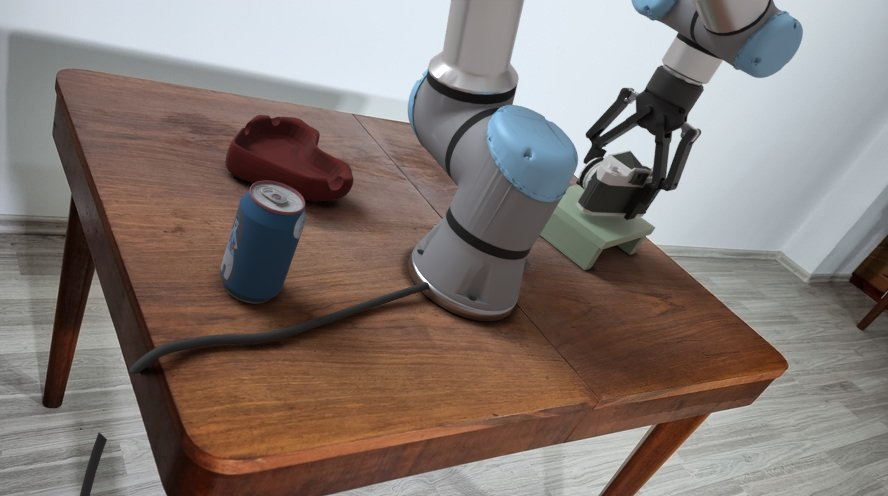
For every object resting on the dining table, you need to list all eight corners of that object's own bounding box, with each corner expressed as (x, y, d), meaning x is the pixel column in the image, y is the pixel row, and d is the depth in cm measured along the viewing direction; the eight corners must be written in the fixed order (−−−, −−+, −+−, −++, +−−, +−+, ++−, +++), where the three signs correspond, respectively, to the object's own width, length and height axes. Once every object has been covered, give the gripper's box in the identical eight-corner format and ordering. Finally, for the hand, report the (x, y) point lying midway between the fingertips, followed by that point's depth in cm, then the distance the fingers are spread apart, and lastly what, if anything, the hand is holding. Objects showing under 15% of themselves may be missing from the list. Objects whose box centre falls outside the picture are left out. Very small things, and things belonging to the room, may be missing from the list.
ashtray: (198, 139, 100) (205, 107, 97) (297, 145, 110) (307, 116, 107) (249, 213, 90) (259, 179, 87) (353, 211, 100) (365, 181, 97)
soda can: (291, 293, 80) (324, 205, 73) (251, 316, 74) (282, 222, 68) (246, 260, 82) (273, 171, 75) (203, 280, 76) (229, 185, 70)
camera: (616, 191, 124) (647, 141, 119) (650, 219, 119) (684, 168, 114) (555, 187, 115) (585, 133, 110) (589, 218, 110) (623, 162, 105)
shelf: (586, 272, 111) (606, 242, 108) (522, 221, 118) (539, 191, 115) (636, 255, 124) (655, 227, 121) (575, 209, 131) (592, 182, 127)
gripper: (756, 112, 102) (668, 236, 114) (634, 42, 113) (565, 163, 125) (738, 112, 97) (649, 243, 109) (612, 39, 107) (543, 166, 119)
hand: (604, 200), depth 117 cm, fingers closed on camera, 9 cm apart
